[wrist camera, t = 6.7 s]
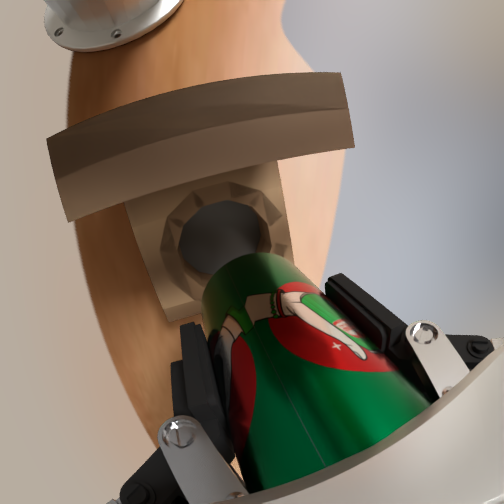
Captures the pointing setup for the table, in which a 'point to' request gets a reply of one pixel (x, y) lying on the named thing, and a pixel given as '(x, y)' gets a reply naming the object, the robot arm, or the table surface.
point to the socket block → (201, 171)
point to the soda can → (296, 373)
